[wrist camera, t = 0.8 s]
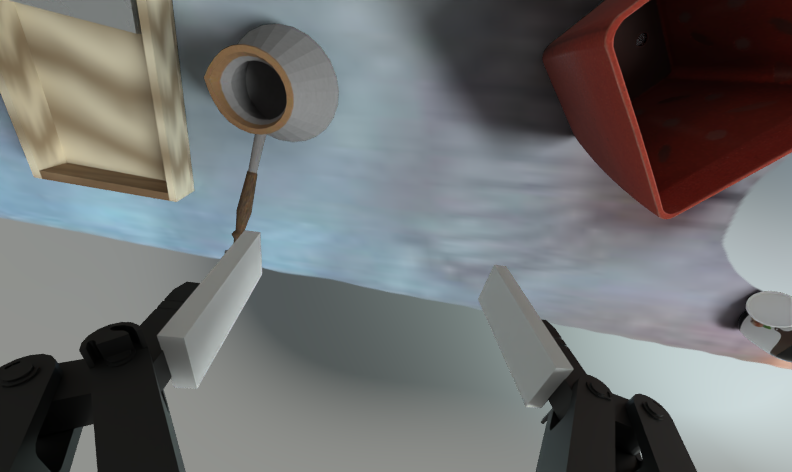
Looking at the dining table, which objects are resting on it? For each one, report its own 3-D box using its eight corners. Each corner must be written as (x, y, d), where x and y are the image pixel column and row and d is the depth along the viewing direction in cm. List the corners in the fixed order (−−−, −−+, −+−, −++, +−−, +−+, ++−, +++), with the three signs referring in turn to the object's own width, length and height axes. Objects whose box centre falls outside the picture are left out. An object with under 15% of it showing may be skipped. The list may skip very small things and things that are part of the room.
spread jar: (749, 331, 63) (821, 380, 53) (711, 325, 61) (778, 374, 51) (799, 291, 57) (889, 338, 47) (759, 282, 55) (845, 328, 45)
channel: (-21, -94, 25) (-85, -121, 21) (167, -37, 27) (137, -53, 24) (66, 167, 36) (34, 177, 33) (194, 190, 39) (176, 201, 35)
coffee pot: (244, 10, 29) (141, -43, 16) (351, 50, 32) (334, 32, 19) (236, 192, 39) (166, 250, 26) (318, 213, 42) (292, 275, 29)
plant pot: (560, 172, 41) (664, 226, 26) (501, 50, 33) (602, 28, 18) (700, 80, 36) (923, 82, 21) (670, -92, 28) (998, -280, 13)
